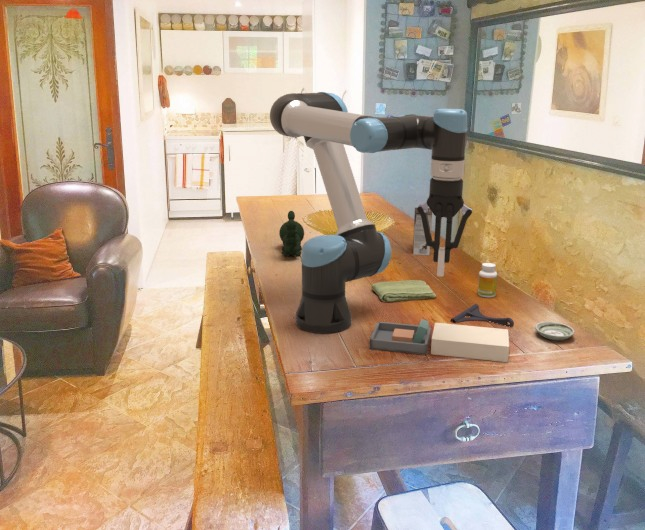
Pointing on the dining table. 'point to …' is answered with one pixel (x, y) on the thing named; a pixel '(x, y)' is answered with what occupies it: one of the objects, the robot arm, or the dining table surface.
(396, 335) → the terracotta tile
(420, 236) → the coffee box
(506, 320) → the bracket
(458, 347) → the cream board
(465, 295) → the dining table surface
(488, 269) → the supplement bottle
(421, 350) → the tray
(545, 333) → the saucer
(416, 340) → the green glazed tile
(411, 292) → the washcloth
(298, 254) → the toy figurine
